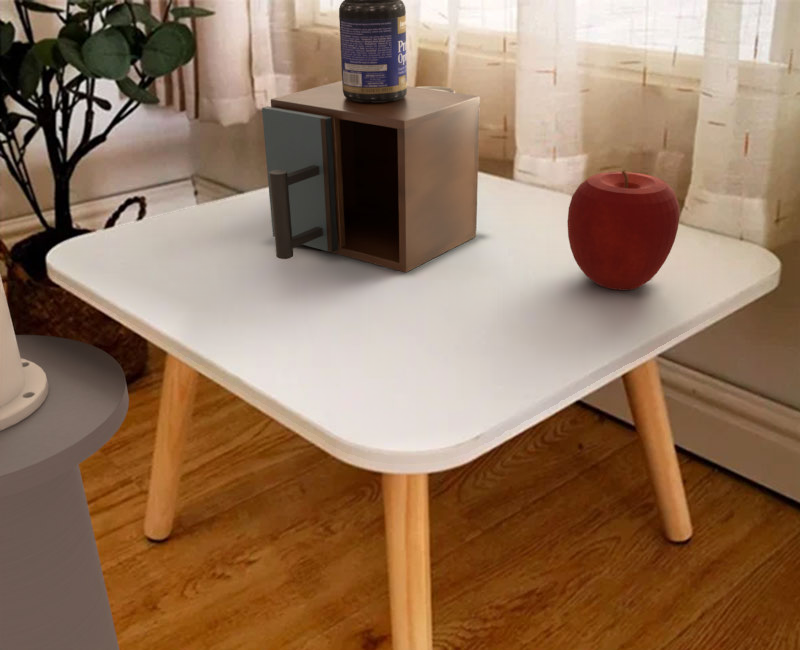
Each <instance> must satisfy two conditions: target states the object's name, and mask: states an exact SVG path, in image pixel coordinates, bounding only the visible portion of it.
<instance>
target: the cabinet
mask: <svg viewBox="0 0 800 650" xmlns="http://www.w3.org/2000/svg"><path fill="white" fill-rule="evenodd" d="M417 87H418V86H409V85H407V93H406V95H405V97H404V98H402V99H400V100H397V101H394V102H383V103H363V102H357V101H352V100H349V99H347V98H346V97H345V96H344V94H343V85H342V80H339V81H335V82H331V83H327V84H324V85H320V86H315V87H311V88H308V89H304V90H300V91H297V92H292V93H289V94H285V95H282V96H277V97H273V98H270V107H274V108H280V109H286V110H292V111H298V112H304V113H310V114H316V115H321V116H328V117H331V123H332V143H333V163H334V183H335V203H336V223H337V243H338V250H337V251H335V252H333V254H336V255H341V256H344V257H348V258H351V259H354V260H359V261H363V262H366V263H370V264H372V265H373V264H374V265H377V266H380V267H385V268H389V269H392V270H396V271H399V272H403V273H407V272H410V271H412V270H414V269H416V268H417V267H420V266H422V265H423V264H426V263H428V262H429V261H432V260H433V259H435V258H437V257H439V256H441V255H443V254H445V253H447V252H449V251H451V250H453V249H454V248H457V247H458V246H460V245H463V244H464V243H466V242H468V241H470V240H472V239H474V238H476V237H477V221H478V220H477V219H478V183H479V179H478V178H479V149H480V147H479V146H480V145H479V143H480V111H481V110H480V109H481V107H480V106H481V103H480V102H481V97H480V95H474V94H466V93H459V92H455V93H453V92H446V91H439V90H432V89H424V88H417Z"/></svg>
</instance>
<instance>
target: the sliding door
mask: <svg viewBox="0 0 800 650" xmlns="http://www.w3.org/2000/svg"><path fill="white" fill-rule="evenodd" d="M261 114H262V115H261V116H262V123H263V124H262V126H263V137H264V138H263V139H264V149H265V158H266V161H265V162H266V173H267V184H268V196H269V206H270V207H269V208H270V219H271V220H270V221H271V230H272V231H271V232H272V237H273V238H274V246H275V255H276V258H277V259H279V260H288V259H292V258H293V257H294V249H295V248H297V247H300V246H307V247H310V248H314V249H317V250H321V251H324V252H328V253H333V252H335V251H337V250H338V243H337V223H336V203H335V183H334V163H333V143H332V123H331V117H328V116H321V115H316V114H310V113H304V112H298V111H292V110H286V109H280V108H274V107H271V106H264V107H261ZM333 254H334V253H333Z"/></svg>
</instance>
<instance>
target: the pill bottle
mask: <svg viewBox="0 0 800 650" xmlns="http://www.w3.org/2000/svg"><path fill="white" fill-rule="evenodd" d="M406 12H407V11H406V5H405V3H404V2H403V0H343V1H341V3H340V4H339V8H338V19H339V38H340V39H339V40H340V59H341V66H340V67H341V81H342V85H343V94H344V96H345V97H346V98H347V99H349V100H352V101H357V102H363V103H383V102H394V101H397V100H400V99H402V98H404V97H405V95H406V93H407V86H408V81H407V80H408V76H407V75H408V74H407V70H408V69H407V25H406V23H407V18H406V17H407V15H406Z"/></svg>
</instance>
